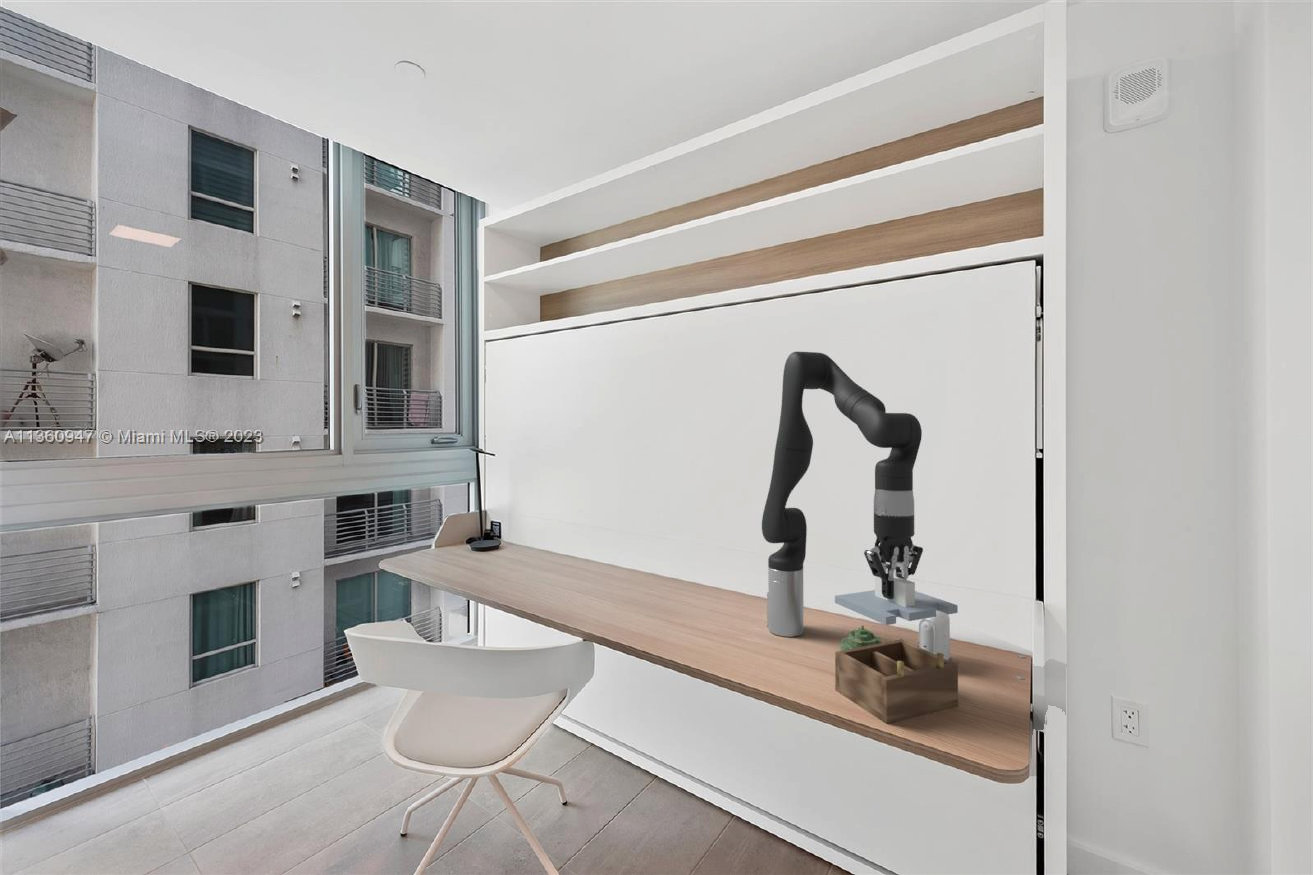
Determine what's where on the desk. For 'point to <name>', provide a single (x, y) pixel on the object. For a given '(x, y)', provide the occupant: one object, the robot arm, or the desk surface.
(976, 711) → the desk surface
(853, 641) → the decorative artifact
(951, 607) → the notched blue lid
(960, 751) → the desk surface
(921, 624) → the photo printer
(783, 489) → the robot arm
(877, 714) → the wooden box with compartments
